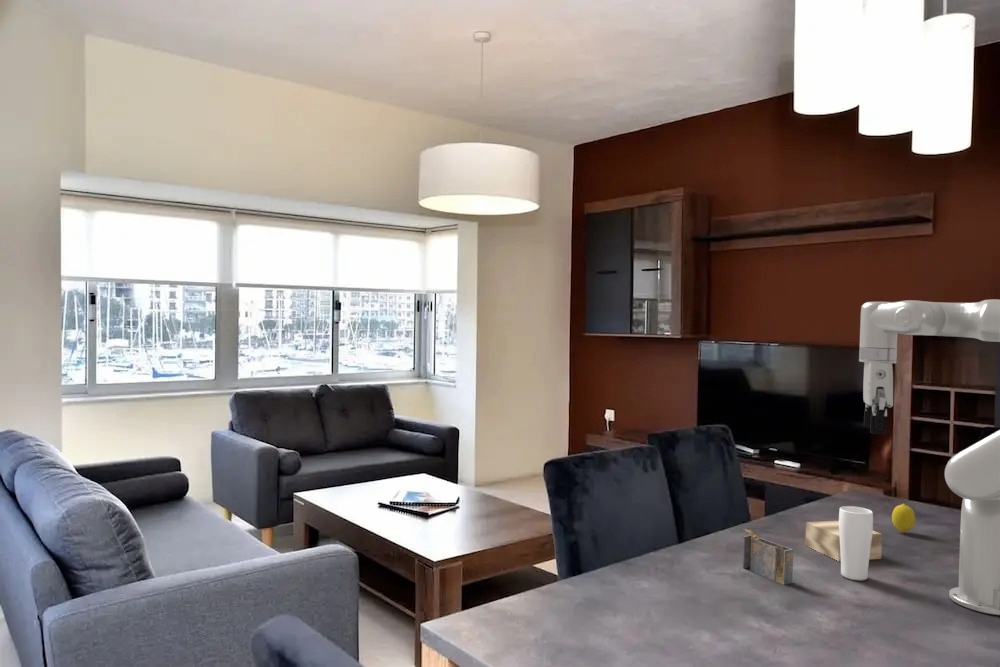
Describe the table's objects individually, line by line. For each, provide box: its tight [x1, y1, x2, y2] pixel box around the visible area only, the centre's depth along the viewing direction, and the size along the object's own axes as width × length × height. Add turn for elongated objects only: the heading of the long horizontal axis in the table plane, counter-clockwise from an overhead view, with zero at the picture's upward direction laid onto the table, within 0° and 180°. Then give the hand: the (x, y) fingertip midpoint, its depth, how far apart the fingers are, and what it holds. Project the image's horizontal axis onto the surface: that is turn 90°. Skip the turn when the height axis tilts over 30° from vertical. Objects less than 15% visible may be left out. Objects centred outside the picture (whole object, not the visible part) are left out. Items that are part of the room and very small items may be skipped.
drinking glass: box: [838, 505, 874, 582], centre depth 155 cm, size 7×7×15 cm
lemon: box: [891, 503, 916, 534], centre depth 191 cm, size 6×6×8 cm
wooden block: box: [804, 520, 883, 562], centre depth 173 cm, size 12×12×6 cm
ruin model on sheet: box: [742, 527, 794, 585], centre depth 155 cm, size 11×3×10 cm, turn 29°
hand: (874, 431), depth 160 cm, fingers open, 9 cm apart
